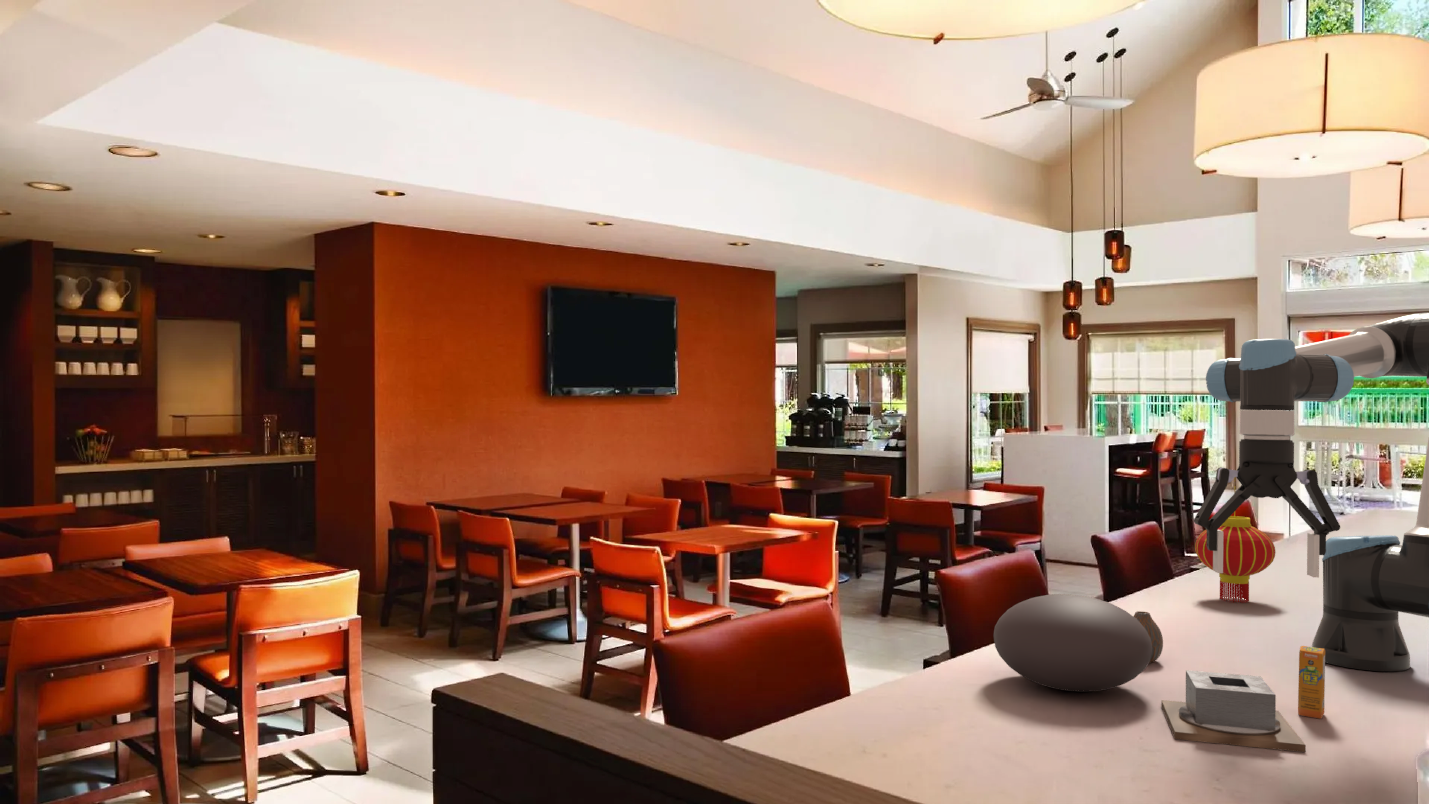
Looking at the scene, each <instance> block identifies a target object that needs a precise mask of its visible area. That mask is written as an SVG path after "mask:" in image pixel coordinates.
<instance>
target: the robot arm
mask: <svg viewBox="0 0 1429 804" xmlns="http://www.w3.org/2000/svg"><path fill="white" fill-rule="evenodd" d="M1240 349H1241V351H1240V357H1238V358H1237V357H1228V358H1223V359H1217V360H1216V361H1214V362H1212V363H1211V365H1209V367H1208V369H1207V370H1206V375H1205V382H1206V388H1207V391H1208V393H1209V394H1210V396H1211V397H1212V398H1213V399H1214V400H1217V401H1221V402H1230V403H1236V402H1240V405H1239V410H1240V411H1239V434H1240V435H1241V436H1243V438H1241V439H1240V441H1239V446H1238V449H1239V450H1238V451H1239V452H1238V453H1239V455H1238V457H1239V458H1238V460H1239V461H1238V463H1239V464H1238V467H1237V470H1236V469H1229V468H1226V467H1220V466H1219V467H1218V468H1217V469H1216V476H1215V482H1214V483H1213V485H1212V486H1211V488H1210V490H1209V492H1208V493H1207V495H1206V497H1205V498H1204V501H1203V502H1202V505H1201V507H1200V508H1199V510H1198V511H1197V513H1196V515H1195V516H1194V518H1193V523H1195V524H1196V525H1198V526H1199V527H1202V528H1204V529H1205V530H1207V549H1208V550H1210V551H1213V570H1212V571H1213V572H1215V573H1217V574H1219V573H1223V531H1221V530H1217V529H1218V528H1219V527H1220V526H1221V525H1222V524H1223V523H1224V522H1225V521H1226V520H1227V519H1228V518H1229V517H1230V516H1233V514H1234V512H1235V513H1236V511H1237V510H1238V509H1239V508H1240V506H1241V505H1242V504H1243V503H1244V502H1245V501H1247V500H1249V499H1250V497H1254V498H1256V499H1257V498H1260V499H1264V498H1271V499H1279V498H1281V497H1282V499H1284V500H1285V501H1286V502H1287V503H1288V504H1289V506H1291V508H1292V509H1293V510H1294V511H1295V512H1296V513H1297V514H1298V516H1299V517H1300V518H1301V519H1302V520H1303V521H1304V522H1305V524H1306V525H1308V527H1310V529H1311V530H1312V531H1313V532H1307V542H1306V546H1307V548H1306V549H1307V550H1306V551H1307V553H1306V557H1307V559H1306V562H1307V563H1306V575H1307V576H1309V577H1312V578H1317V579H1319V578H1320V556H1323V557H1322V558H1321V561H1322V584H1323V585H1322V594H1323V595H1322V597H1323V598H1322V604H1323V605H1322V608H1323V609H1322V617H1321V619H1320V622H1319V625H1318V628H1317V630H1316V633H1315V635H1314V637H1313V640H1312V643H1311V647H1314V648H1322V649H1325V664H1330V665H1334V666H1338V667H1343V668H1349V669H1356V670H1364V671H1373V672H1374V671H1375V672H1401V671H1407V670H1409V669H1410V668H1411V655H1410V651H1409V649H1408V646H1407V645H1408V644H1407V643H1406V641H1405V637H1404V635H1403V632H1402V630H1401V627H1400V621H1399V613H1404V614H1408V615H1409V614H1410V615H1413V616H1417V617H1418V616H1420V617H1425V618H1429V438H1428V440H1427V447H1426V454H1425V460H1424V468H1423V474H1422V481H1421V486H1420V487H1421V488H1420V489H1421V490H1420V497H1419V501H1418V508H1417V516H1416V523H1415V526H1414V527H1412V528H1411V529H1410V530H1407V531H1406V532H1405V533H1403V538H1402V545H1401V541H1400V539H1399V537H1398V536H1397V535H1380V534H1379V535H1348V536H1347V535H1346V536H1344V535H1343V536H1342V535H1341V536H1332V537H1330V538H1327V536H1328V535H1329V534H1330V533H1333V532H1337V531H1340V529H1341V525H1340V522H1339V520H1338V519H1337V518H1336V516H1335V513H1334V512H1333V509H1332V508H1331V505H1330V504H1329V503H1328V500H1327V498H1326V497H1325V494H1324V493H1323V491H1322V489H1321V487H1320V485H1319V479H1318V473H1317V471H1316V470H1313V469H1304V470H1300V471H1296V470H1295V442H1294V441H1293V440H1291V437H1293V436H1295V402H1317V403H1327V402H1337V401H1340V400H1342V399H1343V398H1346V397H1347V396H1348V394H1349V393H1350V392H1351V391H1352V388H1353V386H1354V379H1355V377H1363V378H1365V379H1377V378H1381V377H1416V378H1417V377H1419V378H1420V377H1421V378H1423V377H1426V379H1425V382H1426V384H1427V386H1429V312H1419V313H1418V312H1417V313H1412V314H1407V315H1403V316H1399V317H1395V318H1392V319H1388V320H1384V321H1381V322H1377V323H1374V324H1370V325H1367V326H1361V327H1358V328H1356V329H1354V330H1352V331H1351V332H1350V333H1349V334H1348V335H1344V336H1340V337H1335V338H1331V339H1326V340H1322V341H1316V342H1312V343H1311V342H1310V343H1308V344H1307V343H1306V344H1302V345H1296V344H1295V342H1294V341H1293V340H1291V339H1287V338H1261V339H1260V338H1259V339H1258V338H1257V339H1250V340H1246V341H1244V342H1243V344H1242V345H1241V347H1240ZM1234 479H1237V481H1238V482H1239V483H1240V486H1239V487H1238V488H1237V489H1235V493H1234V494H1233V495H1231V496H1230V498H1229V499H1227V501H1226V502H1225V503H1224V504H1223V505H1222V506H1221V508H1219V509H1218V510H1217V511H1216V512H1215V513H1214V515H1212V513H1213V512H1214V511H1215V510H1214V509H1215V508H1216V506H1217V505H1218V503H1219V501H1220V499H1221V497H1222V495H1223V494H1224V492H1225V490H1226V488H1227V486H1228V485H1229V484H1228V483H1232V482H1233V480H1234ZM1297 480H1298V481H1299V483H1300V484H1302V485H1304V488H1305V490H1306V492H1307V494H1308V496H1309V498H1310V499H1311V501H1312V503H1313V505H1314V507H1315V508H1316V511H1317V512H1318V515H1319V516H1320V518H1321V520H1322V521H1320V520H1319V519H1318V517H1317V516H1316V515H1315V514H1314V513H1313V511H1311V509H1310V508H1309V507H1308V506H1307V505H1306V503H1305V502H1303V501H1302V500H1301V498H1300V497H1299V494H1297V492H1295V490H1294V489H1293V488H1292V486H1293V484H1294V483H1295V482H1296V481H1297ZM1211 515H1212V516H1211ZM1210 517H1211V518H1210ZM1322 522H1323V523H1322Z"/></svg>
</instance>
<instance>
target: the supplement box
mask: <svg viewBox="0 0 1429 804" xmlns="http://www.w3.org/2000/svg"><path fill="white" fill-rule="evenodd" d="M1325 674H1326V662H1325V649H1322V648H1314V647H1312V646H1307V645H1306V646H1305V645H1301V646H1300V647H1299V654H1298V687H1297V688H1298V691H1297V692H1298V693H1297V695H1298V696H1297V698H1298V699H1297V714H1298V716H1302V717H1307V718H1315V719H1319V720H1322V719H1323V716H1324V714H1325V692H1326V691H1325V690H1326V689H1325V687H1326V685H1325V682H1326V681H1325V680H1326V679H1325V678H1326V677H1325Z"/></svg>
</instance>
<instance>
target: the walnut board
mask: <svg viewBox="0 0 1429 804" xmlns="http://www.w3.org/2000/svg"><path fill="white" fill-rule="evenodd" d="M1160 702H1161V704H1160V705H1161V709H1162V712H1163V714H1164V716H1165V718H1166V721H1167V723H1168V726H1169V728H1170V730H1171V731H1170V732H1171V734H1172V735H1173V738H1174V740H1184V741H1192V742H1199V743H1202V742H1203V743H1212V744H1222V745H1230V746H1231V745H1233V746H1240V747H1248V748H1249V747H1250V748H1259V749H1260V748H1261V749H1270V750H1281V751H1290V752H1299V753H1306V750H1307V749H1306V745H1307V744H1306V743H1305V742H1304V741H1303V739H1302V738H1301V737H1300V736H1299V735H1298V733H1297V732H1296V731H1295V729H1294V728H1293V727H1292V726H1291V725H1290V724H1289V722H1288V721H1287V720H1286V718H1285V717H1284V716H1283V714H1282V713H1281V712H1280V711H1279V710H1276V714H1275V718H1276V719H1277V720H1278V721H1279V722H1280V730H1279V731H1278V732H1276V733H1274V734H1269V735H1259V736H1248V735H1235V734H1227V733H1221V732H1216V731H1211V730H1207V729H1203V728H1200V727H1197V726H1194V725H1191V724H1189V723H1187V722H1185V721H1184V720H1182V719H1181V718H1180V717H1179V709H1180V708H1181V707H1182V706H1185V705H1186V701H1176V700H1165V699H1161V701H1160Z"/></svg>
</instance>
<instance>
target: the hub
mask: <svg viewBox="0 0 1429 804" xmlns="http://www.w3.org/2000/svg"><path fill="white" fill-rule="evenodd" d="M1276 697H1277V696H1276V693H1275V692H1274V691H1273V690H1272V689H1271V687H1270V686H1269V685H1268V683H1266V681H1265V680H1264V679H1263V678H1262V677H1261V676H1260V675H1249V674H1236V673H1227V672H1226V673H1224V672H1214V671H1213V672H1211V671H1202V670H1201V671H1200V670H1199V671H1198V670H1189V669H1188V670H1185V702H1186V705H1185V706H1182V707H1181V708H1180V709H1179V717H1180V718H1181V719H1182V720H1184V721H1185V722H1187V723H1189V724H1191V725H1194V726H1197V727H1200V728H1203V729H1207V730H1211V731H1216V732H1221V733H1227V734H1235V735H1248V736H1259V735H1269V734H1274V733H1276V732H1278V731H1279V730H1280V722H1279V721H1278V720H1277V719H1276V718H1275V714H1276V711H1277V710H1276V709H1277V708H1276V706H1277V705H1276V702H1277V701H1276V699H1277V698H1276Z"/></svg>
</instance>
